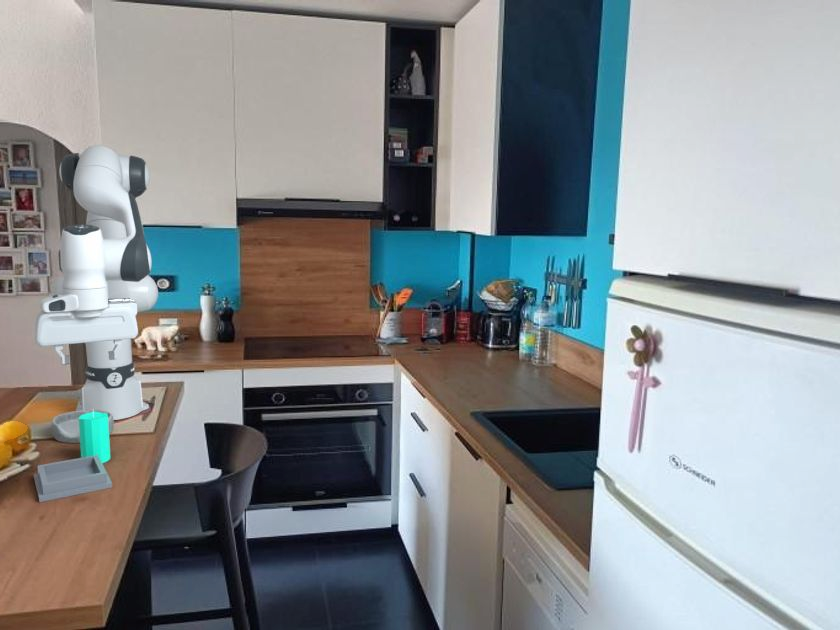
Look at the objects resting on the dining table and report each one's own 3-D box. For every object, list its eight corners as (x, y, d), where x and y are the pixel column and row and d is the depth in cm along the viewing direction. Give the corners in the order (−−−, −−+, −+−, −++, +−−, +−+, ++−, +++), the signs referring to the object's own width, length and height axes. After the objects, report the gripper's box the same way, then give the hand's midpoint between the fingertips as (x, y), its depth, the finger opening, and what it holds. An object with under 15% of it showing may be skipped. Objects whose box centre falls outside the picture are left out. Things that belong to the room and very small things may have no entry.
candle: (98, 466, 144) (95, 414, 142) (75, 463, 146) (71, 412, 144) (116, 456, 150) (113, 406, 148) (93, 453, 151) (90, 404, 149)
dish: (112, 442, 159) (111, 422, 158) (48, 448, 154) (46, 428, 153) (116, 423, 173) (115, 405, 172) (56, 428, 167) (55, 410, 167)
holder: (34, 478, 137) (33, 465, 137) (101, 465, 145) (100, 453, 144) (39, 502, 127) (38, 487, 126) (112, 487, 134) (111, 473, 133)
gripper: (134, 295, 150) (136, 353, 152) (31, 300, 139) (36, 363, 141) (139, 299, 145) (142, 359, 147) (33, 305, 134) (38, 370, 136)
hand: (89, 361), depth 144 cm, fingers open, 8 cm apart
